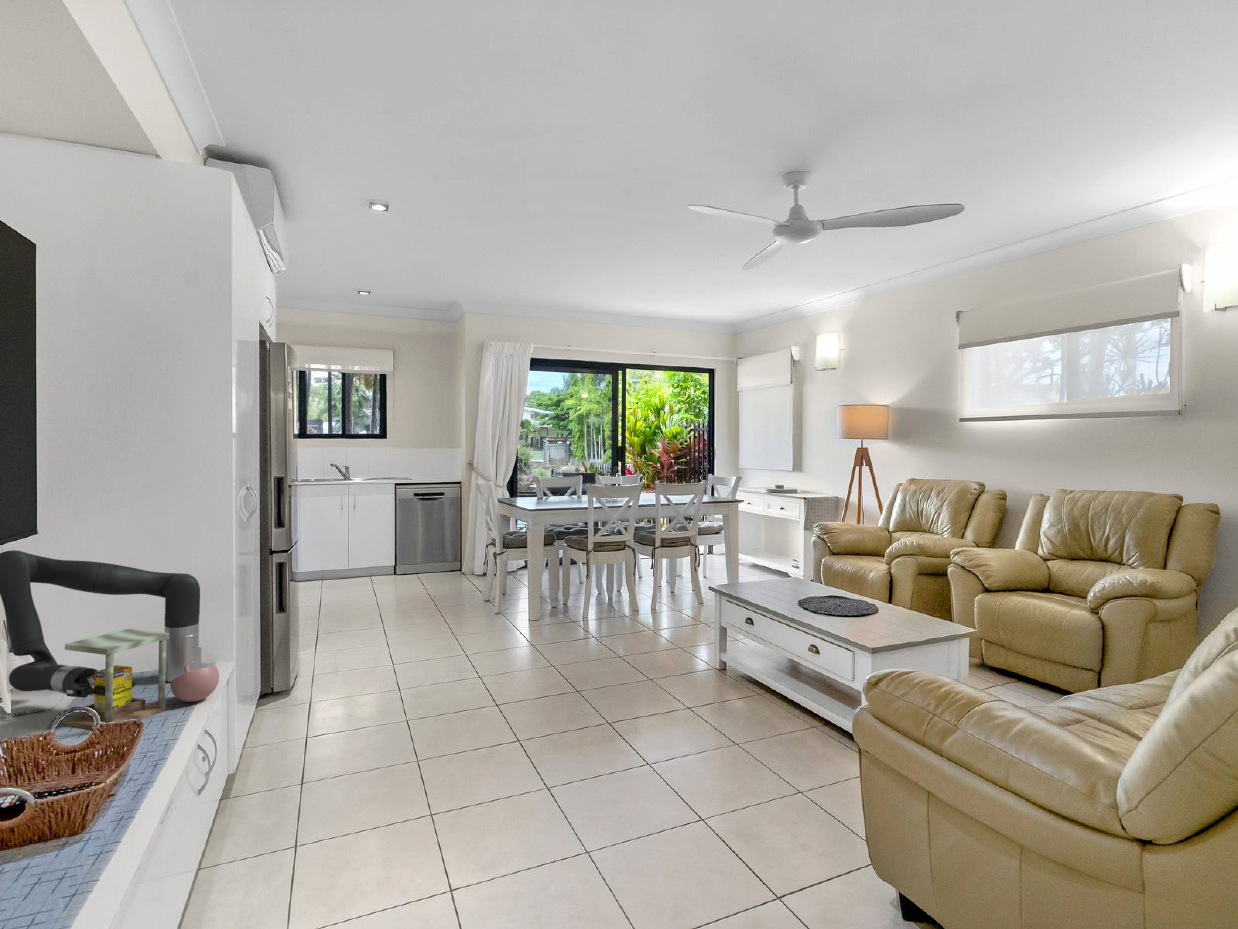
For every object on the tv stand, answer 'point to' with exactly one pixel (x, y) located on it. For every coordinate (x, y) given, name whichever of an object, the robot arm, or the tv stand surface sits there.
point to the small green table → (108, 647)
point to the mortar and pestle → (195, 683)
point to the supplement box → (115, 687)
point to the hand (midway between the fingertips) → (120, 687)
